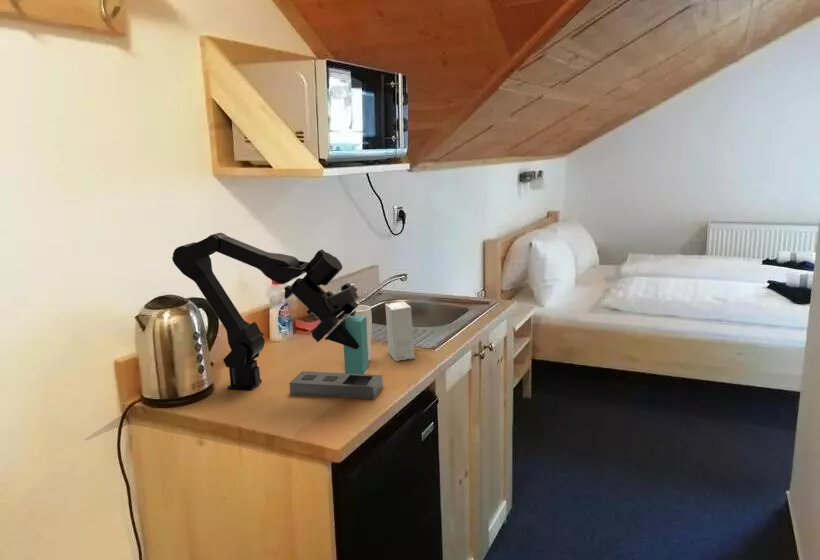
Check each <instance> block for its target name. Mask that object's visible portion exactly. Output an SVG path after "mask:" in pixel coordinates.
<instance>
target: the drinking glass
mask: <svg viewBox="0 0 820 560" xmlns="http://www.w3.org/2000/svg"><path fill="white" fill-rule="evenodd" d="M355 310H356V313H355V316H366V321H367V343H368V362H369V361H371V359H372V352H371V351H372V329H373V328H372V327H373V326H372V325H373V323H372V322H373V318H372V308H371V306H369V305H366V304H358V306H357V307H356V308H355V309H354V310H353V311H355ZM353 311H352V312H353ZM352 312H351V313H352Z"/></svg>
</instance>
